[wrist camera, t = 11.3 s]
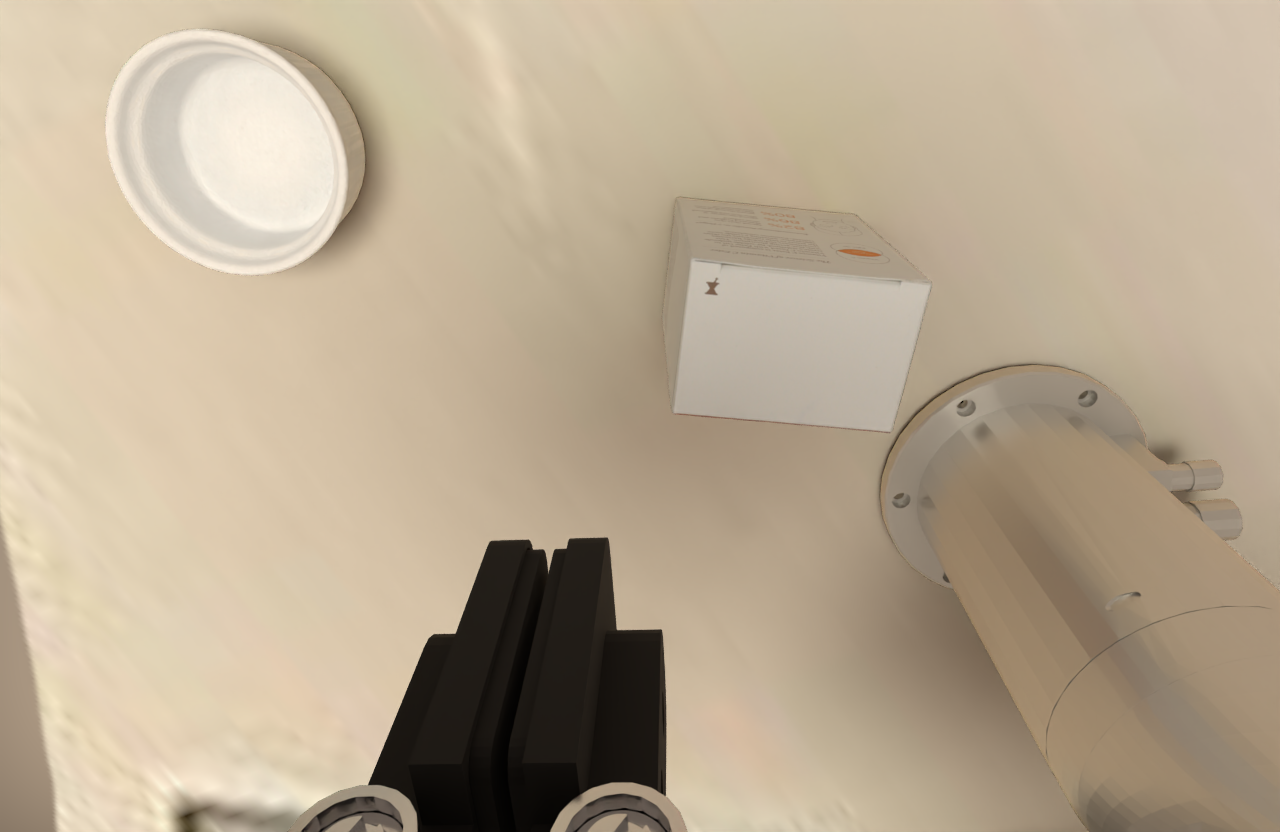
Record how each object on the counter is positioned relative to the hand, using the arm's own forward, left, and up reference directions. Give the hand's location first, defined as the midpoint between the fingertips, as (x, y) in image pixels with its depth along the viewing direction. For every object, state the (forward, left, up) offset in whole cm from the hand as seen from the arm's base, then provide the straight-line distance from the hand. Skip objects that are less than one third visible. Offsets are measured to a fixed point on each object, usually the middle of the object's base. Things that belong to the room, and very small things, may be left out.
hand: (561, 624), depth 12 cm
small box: (-6, +3, -27) cm, 27 cm away
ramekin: (+14, -4, -27) cm, 31 cm away
